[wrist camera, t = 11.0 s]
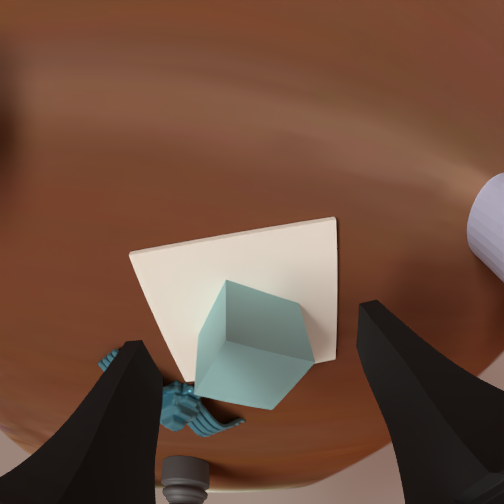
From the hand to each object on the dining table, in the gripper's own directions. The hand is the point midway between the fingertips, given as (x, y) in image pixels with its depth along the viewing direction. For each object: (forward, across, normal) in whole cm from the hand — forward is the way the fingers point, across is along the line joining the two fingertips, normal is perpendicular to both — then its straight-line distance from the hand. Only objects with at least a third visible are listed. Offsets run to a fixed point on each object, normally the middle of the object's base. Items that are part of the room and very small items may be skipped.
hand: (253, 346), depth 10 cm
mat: (+9, +1, +6) cm, 11 cm away
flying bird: (+9, +9, +15) cm, 20 cm away
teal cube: (+8, +1, +6) cm, 11 cm away
